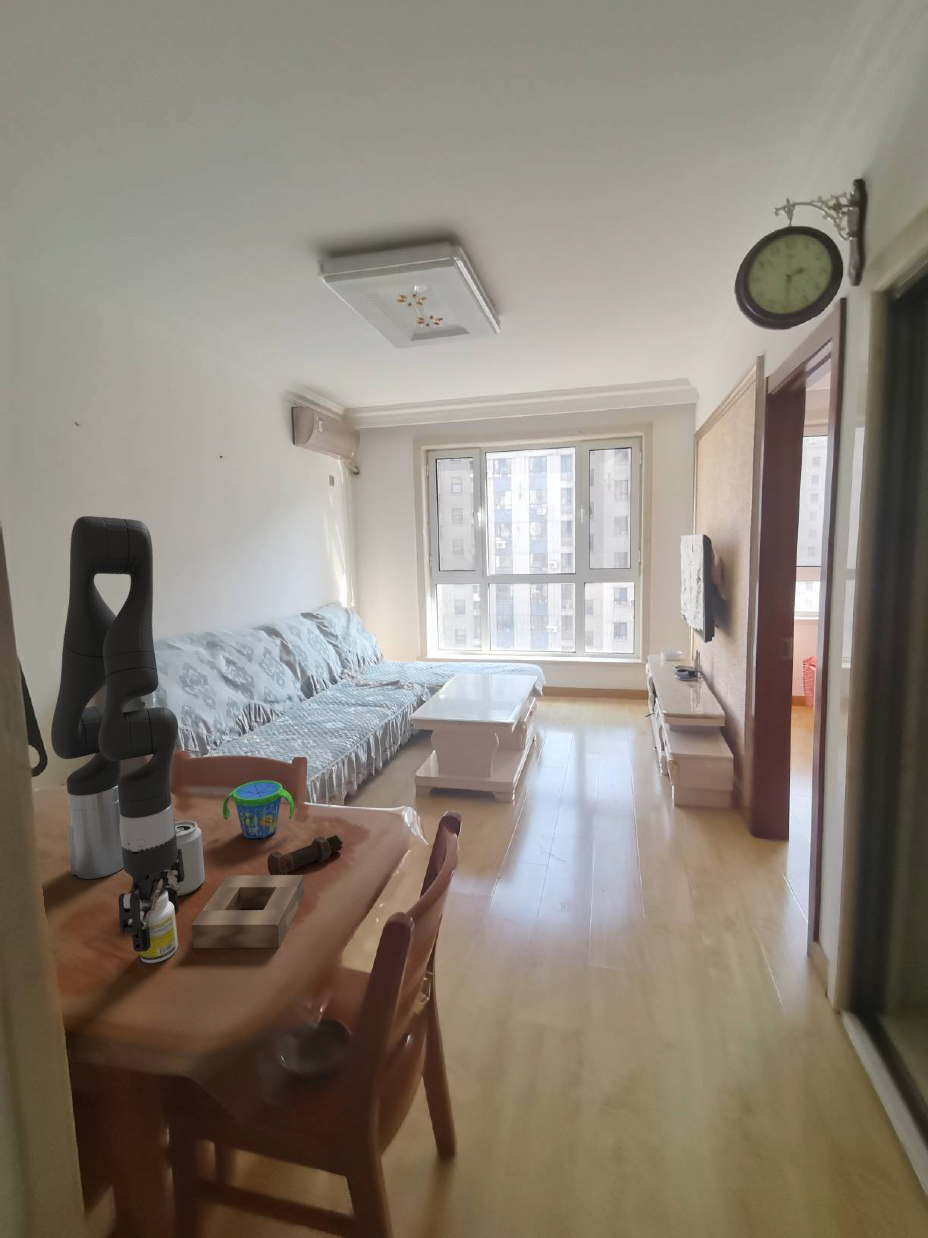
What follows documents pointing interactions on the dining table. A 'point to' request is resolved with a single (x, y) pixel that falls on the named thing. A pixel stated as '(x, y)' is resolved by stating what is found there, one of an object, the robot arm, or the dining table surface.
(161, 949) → the supplement bottle
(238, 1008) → the dining table surface
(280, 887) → the socket block
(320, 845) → the bolt
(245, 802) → the snack cup
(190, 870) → the can
